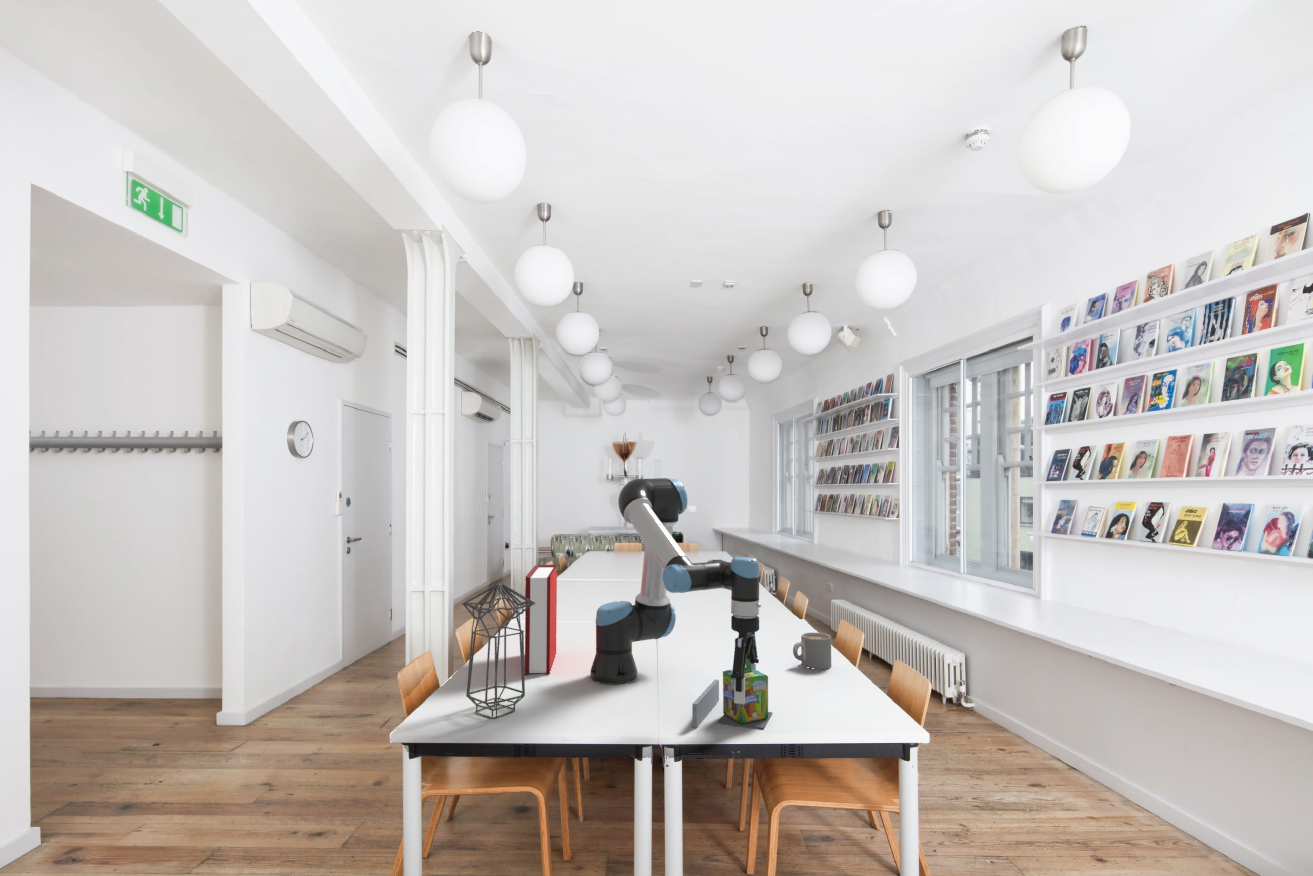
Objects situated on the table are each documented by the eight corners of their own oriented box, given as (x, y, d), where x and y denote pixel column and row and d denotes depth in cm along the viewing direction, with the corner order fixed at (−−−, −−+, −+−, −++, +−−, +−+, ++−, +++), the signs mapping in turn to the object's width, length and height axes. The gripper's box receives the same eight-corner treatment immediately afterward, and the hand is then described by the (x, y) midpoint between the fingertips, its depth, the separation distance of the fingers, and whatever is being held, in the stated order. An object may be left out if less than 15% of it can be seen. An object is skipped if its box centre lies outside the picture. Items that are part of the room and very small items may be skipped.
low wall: (692, 727, 175) (692, 703, 175) (714, 700, 195) (714, 679, 196) (696, 728, 174) (696, 704, 175) (718, 701, 195) (718, 680, 195)
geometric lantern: (455, 713, 185) (458, 584, 188) (502, 699, 197) (504, 578, 200) (489, 726, 175) (493, 589, 178) (537, 711, 187) (539, 583, 190)
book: (549, 675, 220) (550, 576, 222) (524, 675, 219) (525, 576, 221) (556, 652, 247) (557, 564, 249) (534, 653, 247) (535, 565, 248)
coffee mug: (826, 661, 236) (825, 632, 237) (835, 669, 226) (834, 639, 227) (788, 661, 236) (788, 632, 236) (796, 670, 226) (795, 639, 226)
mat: (718, 723, 177) (718, 721, 178) (729, 708, 189) (729, 707, 189) (763, 729, 173) (763, 727, 173) (772, 713, 185) (772, 712, 185)
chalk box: (741, 725, 175) (740, 667, 176) (721, 714, 183) (721, 658, 184) (769, 718, 180) (769, 662, 180) (749, 708, 188) (749, 654, 188)
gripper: (748, 626, 169) (749, 712, 169) (767, 607, 193) (768, 682, 192) (719, 624, 172) (719, 708, 171) (742, 605, 195) (742, 679, 195)
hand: (745, 695), depth 182 cm, fingers open, 13 cm apart
